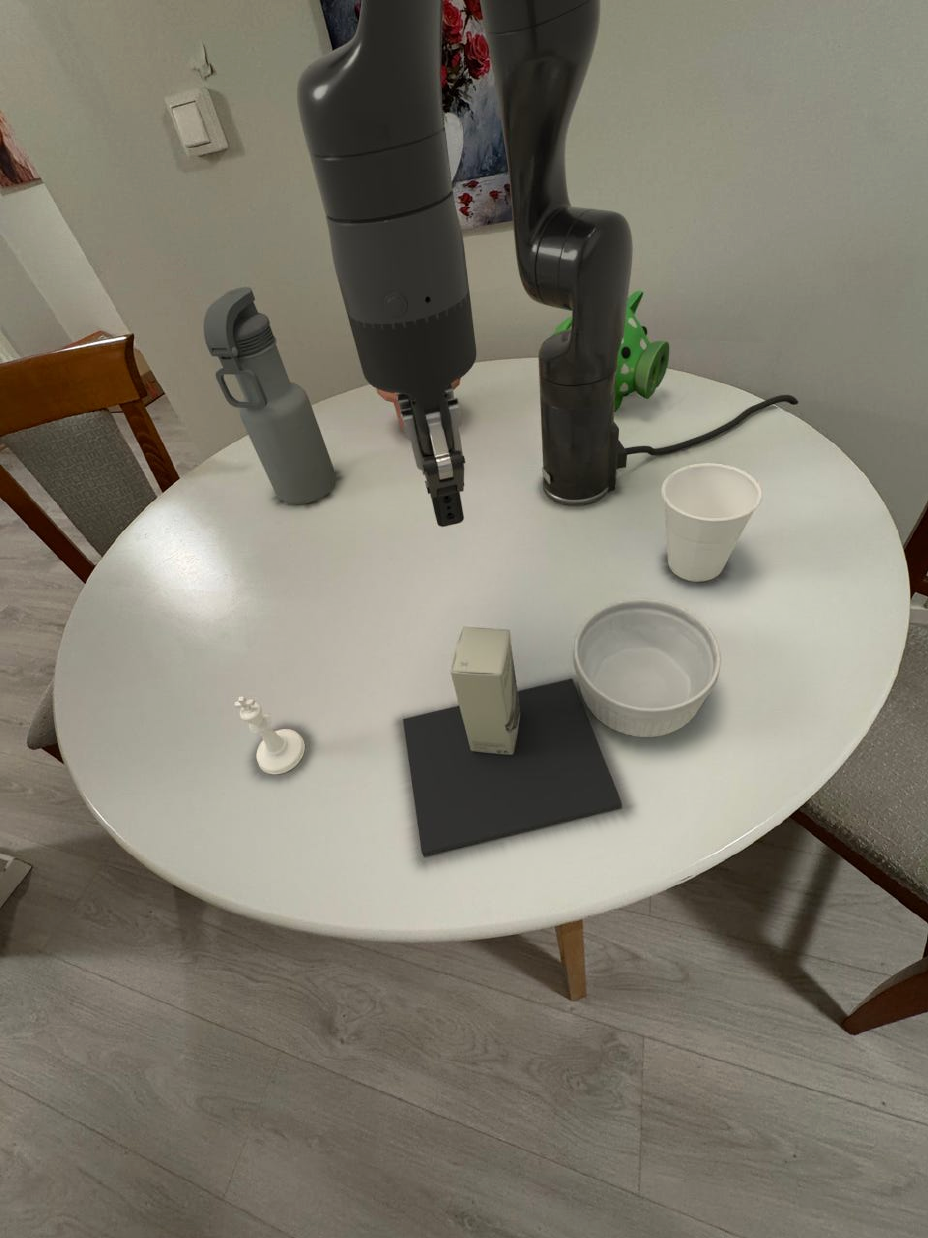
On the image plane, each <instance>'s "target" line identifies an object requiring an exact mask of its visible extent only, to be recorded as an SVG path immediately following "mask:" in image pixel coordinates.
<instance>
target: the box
mask: <svg viewBox="0 0 928 1238" xmlns="http://www.w3.org/2000/svg"><path fill="white" fill-rule="evenodd" d="M450 675H451V679H452V682H453V687H454V691H455V695H456V698H457V702H458V706H460V710H461V714H462V718H463V722H464V725H465V729H466V733H467V737H468V741H469V745H470V749H471V751H476V752H485V753H496V754H507V755H513V754H514V749H515V744H516V739H517V734H518V727H519V719H520V706H519V698H518V691H519V690H518V684H517V675H516V669H515V661H514V655H513V648H512V639H511V630H510V629H505V628H492V627H491V628H490V627H476V626H463V627H462V628H461V630H460V632H459V636H458V640H457V643H456V647H455V650H454V654H453V659H452V663H451V667H450Z"/></svg>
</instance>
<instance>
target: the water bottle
mask: <svg viewBox="0 0 928 1238" xmlns="http://www.w3.org/2000/svg"><path fill="white" fill-rule="evenodd" d="M255 300H256V297H255V295H254V291H253V290H252V288H251V287H250V286H242V287H236V288H233V289H231V290H229V291H226V292H225V293H224V294H223V295H222V296H220V297H219V298H218V299H216V300H215V301H214V302H212V303H211V304H210V305H209V307H208V308H207V309H206V312H205V314H204V318H203V328H202V329H203V337H204V341H205V345H206V347H207V350H208V351H209V354H210V355H211V356H212V357H217V358H218V359H219V361H220V364H221V366H222V367H221V368H219V369H218V370H217V371H216V372H215V379H216V381H217V383H218V385H219V387H220V390H221V391H222V394H223V396H224V398H225V400H226V401H227V403H228V404H229V405H230V406H232V407H234V408H238V413H239V418H240V420H241V422H242V424H243V426H244V428H245V430H246V433H247V435H248V437H249V439H250V441H251V443H252V446H253V448H254V450H255V453H256V454H257V456H258V459H259V461H260V463H261V465H262V467H263V469H264V471H265V474H266V476H267V478H268V480H269V482H270V484H271V487H272V489H273V491H274V493H275V495H276V496H277V498H278V499H279V500H281V501H282V502H284V503H287V504H291V505H304V504H305V505H306V504H309V503H312V502H315V501H317V500H319V499H322V498H323V497H325V496H326V495H328V494H329V493H330V492H331V490H332V489H333V488H334V487H335V485H336V481H337V473H336V471H335V467H334V465H333V463H332V459H331V456H330V454H329V451H328V449H327V445H326V442H325V439H324V437H323V435H322V432H321V429H320V426H319V423H318V420H317V417H316V415H315V412H314V409H313V407H312V404H311V401H310V398H309V395H308V394H307V391H306V390H305V389H304V387H302V386H301V385H300V384H298V383H296V382H293V381H291V380H290V378H289V375H288V373H287V369H286V367H285V365H284V361H283V359H282V357H281V353H280V351H279V348H278V346H277V337H276V336H275V335H274V333H273V330H272V327H271V322H270V319H269V317H268V316H267V315H266V314H265V313H261V312H259V311H258V309H257V307H256V304H255ZM225 375H234V377H235V380H236V381H237V384H238V386H239V389H240V391H241V392H242V395H243V397H242V398H241V400H240V401H239V400H238V399H236V398H235V397H234V396H233V395H232V394H231V391H230V389H229V387H228V384H227V383H226V380H225V377H224V376H225Z"/></svg>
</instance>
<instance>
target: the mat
mask: <svg viewBox="0 0 928 1238" xmlns="http://www.w3.org/2000/svg"><path fill="white" fill-rule="evenodd" d="M517 691H518V698H519V706H520V719H519V727H518V734H517V739H516V744H515V749H514V754H513V755H507V754H496V753H485V752H476V751H471V749H470V745H469V741H468V737H467V733H466V729H465V725H464V722H463V718H462V714H461V710H460V706H459V705H455V706H451V707H446V708H443V709H439V710H433V711H430V712H426V713H422V714H418V715H414V716H409V717H406V718H403V719H402V722H403V723H402V724H403V730H404V737H405V744H406V750H407V751H406V752H407V759H408V764H409V765H408V766H409V773H410V780H411V787H412V794H413V800H414V801H413V802H414V808H415V815H416V823H417V829H418V836H419V843H420V850H421V854H422V857H427V856H431V855H435V854H438V853H439V854H440V853H443V852H447V851H451V850H455V849H459V848H463V847H467V846H472V845H475V844H479V843H483V842H487V841H491V840H496V839H499V838H504V837H507V836H512V835H515V834H519V833H523V832H529V831H532V830H536V829H539V828H544V827H548V826H551V825H556V824H560V823H565V822H568V821H572V820H576V819H580V818H583V817H588V816H593V815H597V814H600V813H605V812H608V811H612V810H617V809H620V808H622V806H623V803H622V800H621V798H620V795H619V792H618V790H617V787H616V785H615V783H614V780H613V777H612V775H611V772H610V769H609V768H608V764H607V762H606V760H605V758H604V755H603V751H602V749H601V747H600V745H599V742H598V740H597V738H596V737H597V736H596V735H595V732H594V730H593V728H592V727H593V726H592V725H591V721H590V719H589V717H588V715H587V712H586V710H585V707H584V704H583V703H582V699H581V697H580V694H579V692H578V690H577V687H576V684H575V682H574V679H573V678H567V679H563V680H559V681H555V682H550V683H547V684H542V685H539V686H534V687H530V688H526V689H521V690H517Z"/></svg>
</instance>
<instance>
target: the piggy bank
mask: <svg viewBox="0 0 928 1238" xmlns="http://www.w3.org/2000/svg"><path fill="white" fill-rule="evenodd" d="M643 296H644V290H635V291H634V292H632V293H631V294H630V295H628V301H627V310H626V320H625V329H624V334H623V338H622V342H621V345H620V349H619V353H618V360H617V374H616V391H615V409H614V414H615V413H616V412H617V411H618V409H619V408H620V407H621V405H622V402H623V400H624V398H625V397H628V396H629V395H630V394H633V393H636V394H637V395H638V396H640V397H641V398H643V399H645V400H648V399H650V398H651V397H652V396H653V395H654V394H655V391H656V389H657V388H658V387H659V386H660V385H661V383H662V381H663V380H664V378H665V375H666V373H667V369H668V365H669V361H670V360H669V359H670V343H669V341H668V340H657V341H652V342H651V341H650V340H649V338H648V336H647V335H648V329H647V327H646V326H644V325H641V323H640V321H639V319H638V317H637V315H636V312H637V309H638V307H639V305H640V303H641V301H642V298H643ZM571 324H572V316H570V317H568V318H566V319H565V320H563V321H562V322H560V323H559V324H558V326H556V327H555V329H554V330H553V331H552V333H551V335H550V337H551V336H552V335H554V334H556V333H558V332H561V331H564V330H567V329H571Z"/></svg>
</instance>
